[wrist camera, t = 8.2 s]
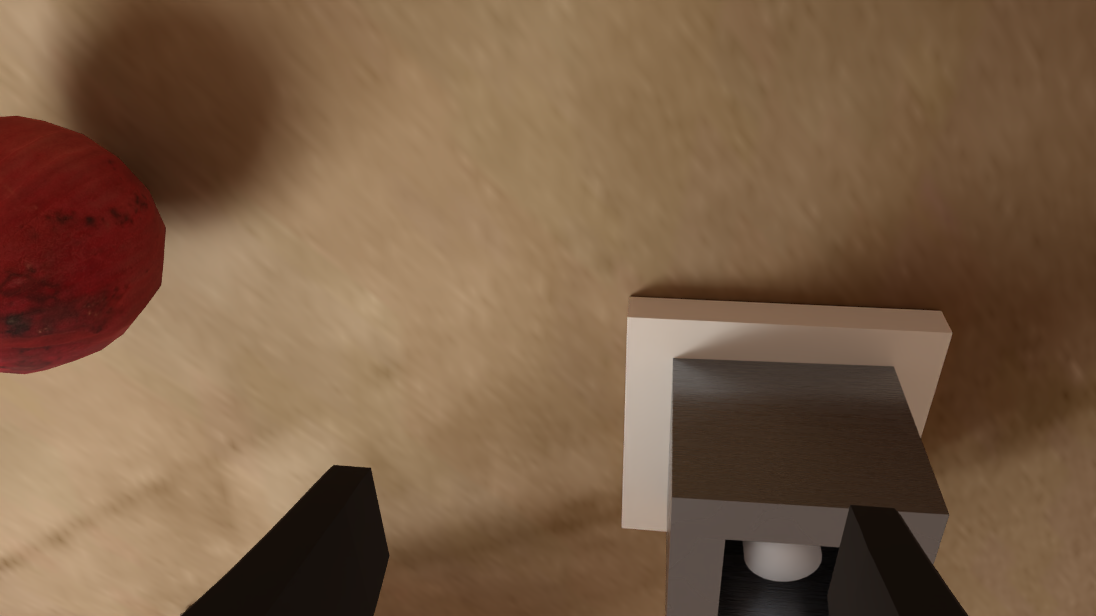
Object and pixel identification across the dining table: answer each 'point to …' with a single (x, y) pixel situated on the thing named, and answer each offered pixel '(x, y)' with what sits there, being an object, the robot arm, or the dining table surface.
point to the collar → (783, 476)
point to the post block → (757, 336)
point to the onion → (70, 246)
